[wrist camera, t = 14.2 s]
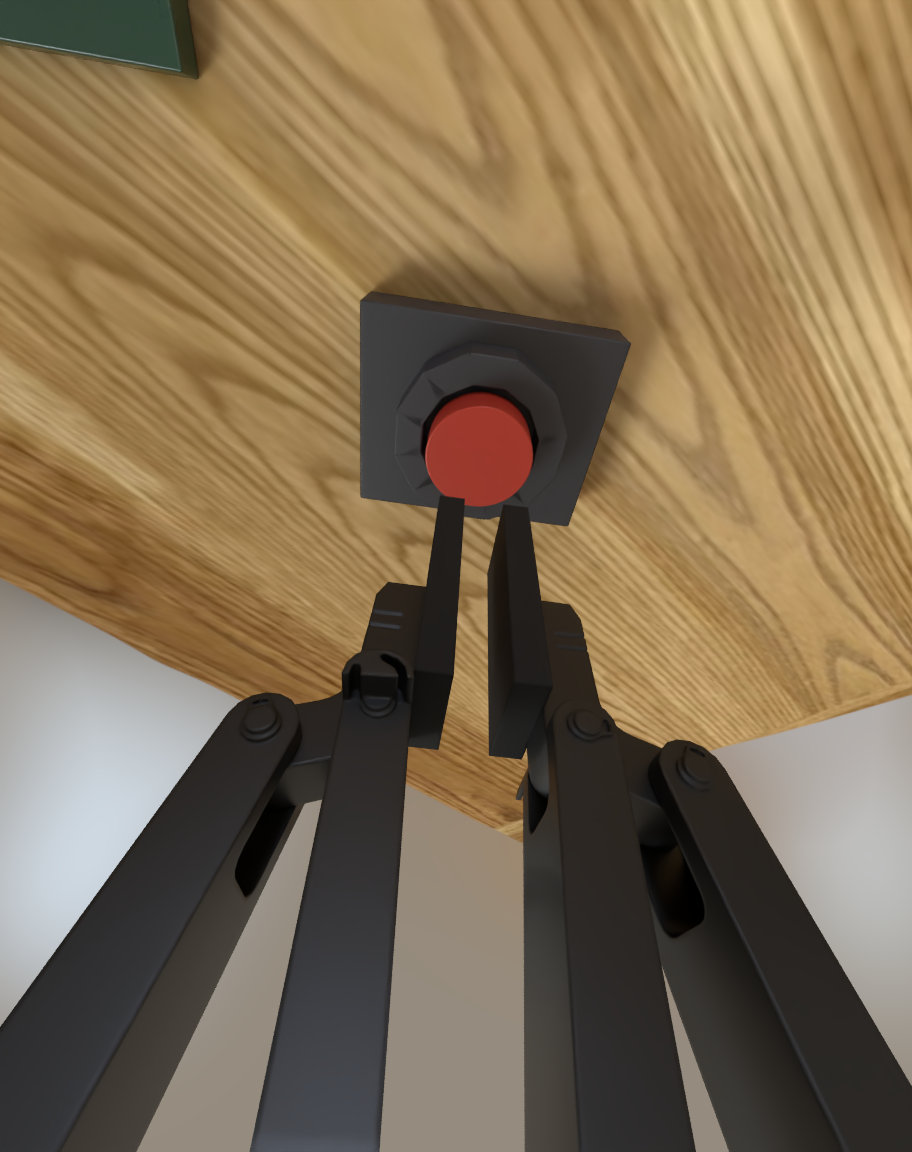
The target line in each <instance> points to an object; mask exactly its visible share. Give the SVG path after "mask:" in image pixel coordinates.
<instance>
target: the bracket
mask: <svg viewBox="0 0 912 1152" xmlns="http://www.w3.org/2000/svg"><path fill="white" fill-rule="evenodd" d="M0 44H1V45H7V46H12V47H18V48H24V49H29V50H35V51H40V52H46V53H52V54H57V55H63V56H68V57H74V58H80V59H85V60H91V61H96V62H102V63H108V64H113V65H119V66H124V67H130V68H136V69H141V70H147V71H152V72H158V73H164V74H169V75H175V76H180V77H186V78H192V79H198V71H197V64H196V58H195V51H194V45H193V38H192V32H191V25H190V19H189V13H188V6H187V0H0Z"/></svg>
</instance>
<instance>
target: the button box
mask: <svg viewBox="0 0 912 1152" xmlns="http://www.w3.org/2000/svg"><path fill="white" fill-rule="evenodd" d="M630 345H631V343H630V342H629V341H628V340H627V339H626V338H625V337H624V336H623V335H622V334H621V333H620V332H619V331H617V330H611V329H605V328H598V327H592V326H586V325H580V324H573V323H567V322H561V321H555V320H548V319H542V318H536V317H530V316H524V315H517V314H511V313H505V312H499V311H492V310H486V309H480V308H474V307H467V306H461V305H455V304H449V303H442V302H436V301H430V300H424V299H417V298H411V297H405V296H399V295H392V294H386V293H380V292H374V291H371V292H370V293H369V294H367V295H366V296H365V297H364V298H363V299H361V301H360V496H361V498H367V499H374V500H381V501H388V502H395V503H403V504H410V505H417V506H424V507H431V508H438V504H439V497H440V495H442V496H445V495H444V494H443V493H442V492H441V491H440V490H439V489H438V488H437V487H436V486H435V484H434V483H433V482H432V480H431V478H430V476H429V474H428V471H427V467H426V461H425V451H426V445H427V441H428V436H429V432H430V428H431V425H432V423H433V420H434V418H435V417H436V415H437V414H438V412H439V411H440V410H441V409H442V407H443V406H445V405H446V404H447V403H448V402H449V401H451V400H452V399H454V398H456V397H458V396H460V395H463V394H466V393H471V392H489V393H494V394H497V395H499V396H502V397H504V398H506V399H508V400H509V401H510V402H512V403H513V404H514V405H515V406H516V407H517V408H518V409H519V410H520V411H521V413H522V414H523V416H524V418H525V419H526V422H527V424H528V428H529V432H530V437H531V442H532V448H533V463H532V468H531V471H530V474H529V476H528V478H527V480H526V481H525V483H524V484H523V485H522V487H521V488H520V489H519V490H518V491H517V492H516V493H515V494H514V495H512V496H511V497H509V498H508V499H506V500H504V501H502V502H499V503H497V504H493V505H489V506H469V505H465V506H464V517H470V518H478V519H487V520H488V519H491V518H495V517H501V512H502V508H503V504H506V505H513V506H520V507H527V508H528V510H529V517H530V521H532V522H539V523H547V524H554V525H561V526H568V525H569V522H570V519H571V517H572V514H573V511H574V508H575V505H576V502H577V499H578V496H579V493H580V490H581V488H582V485H583V482H584V479H585V476H586V473H587V470H588V467H589V464H590V461H591V458H592V456H593V453H594V450H595V447H596V444H597V441H598V438H599V435H600V432H601V429H602V427H603V424H604V421H605V418H606V415H607V412H608V409H609V406H610V403H611V400H612V398H613V395H614V392H615V389H616V386H617V383H618V380H619V377H620V374H621V371H622V368H623V366H624V363H625V360H626V357H627V354H628V351H629V348H630Z"/></svg>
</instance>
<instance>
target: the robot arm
mask: <svg viewBox="0 0 912 1152" xmlns="http://www.w3.org/2000/svg"><path fill="white" fill-rule="evenodd" d="M464 506H465V499H463V498H456V497H449V496H442V495H440V497H439V504H438V511H437V517H436V524H435V531H434V538H433V544H432V551H431V558H430V564H429V571H428V578H427V585H426V587H423V586H415V585H408V584H400V583H392V582H388V583H387V584H386V585H385V586H384V587H383V588H382V589H381V590H380V591H379V592H378V593H377V594H376V598H375V602H374V605H373V609H372V613H371V617H370V620H369V625H368V628H367V631H366V635H365V639H364V642H363V646H362V650H361V652H360V653H357V654H356V655H354V656H353V657H352V658H351V659H350V660H349V661H348V662H347V663H346V665H345V667H344V669H343V671H342V691H341V692H339V693H338V694H336V695H334V696H332V697H330V698H326V699H323V700H319V701H313V702H307V703H301V704H296V705H295V704H294V703H293V701H292V700H291V699H289V698H287V697H285V696H283V695H281V694H276V693H262V694H257V695H252V696H250V697H248V698H246V699H244V700H243V701H241V702H239V703H238V704H237V705H236V706H235V707H234V708H233V709H232V710H231V711H230V712H228V714H227V715H226V716H225V718H224V719H223V721H222V722H221V723H220V725H219V726H218V727H217V729H216V730H215V732H214V733H213V734H212V736H211V737H210V738H209V740H208V741H207V743H206V744H205V745H204V747H203V748H202V750H201V751H200V752H199V754H198V755H197V756H196V758H195V759H194V761H193V762H192V763H191V765H190V766H189V767H188V769H187V770H186V772H185V773H184V774H183V776H182V777H181V779H180V780H179V781H178V783H177V784H176V785H175V787H174V788H173V789H172V791H171V792H170V794H169V795H168V796H167V798H166V799H165V801H164V802H163V803H162V805H161V806H160V807H159V809H158V810H157V811H156V813H155V814H154V816H153V817H152V818H151V820H150V821H149V823H148V824H147V825H146V827H145V828H144V829H143V831H142V833H141V834H140V835H139V836H138V838H137V839H136V840H135V842H134V844H133V845H132V846H131V847H130V849H129V850H128V852H127V853H126V854H125V856H124V857H123V858H122V860H121V861H120V863H119V864H118V865H117V867H116V868H115V869H114V871H113V872H112V874H111V875H110V876H109V878H108V879H107V881H106V882H105V883H104V885H103V886H102V887H101V889H100V890H99V892H98V893H97V894H96V896H95V897H94V898H93V900H92V901H91V903H90V904H89V905H88V907H87V908H86V910H85V911H84V912H83V914H82V915H81V916H80V918H79V919H78V921H77V922H76V923H75V925H74V926H73V927H72V929H71V930H70V932H69V933H68V934H67V936H66V937H65V938H64V940H63V941H62V943H61V944H60V945H59V947H58V948H57V949H56V951H55V952H54V954H53V955H52V956H51V958H50V959H49V960H48V962H47V963H46V965H45V966H44V967H43V969H42V970H41V972H40V973H39V975H38V976H37V977H36V978H35V980H34V981H33V983H32V984H31V985H30V987H29V988H28V989H27V991H26V992H25V994H24V995H23V996H22V998H21V999H20V1000H19V1002H18V1003H17V1005H16V1006H15V1007H14V1009H13V1010H12V1012H11V1013H10V1014H9V1016H8V1017H7V1019H6V1020H5V1021H4V1023H3V1024H2V1025H1V1027H0V1152H136V1151H137V1149H138V1147H139V1145H140V1143H141V1141H142V1139H143V1137H144V1135H145V1133H146V1131H147V1129H148V1127H149V1124H150V1122H151V1120H152V1118H153V1116H154V1114H155V1112H156V1110H157V1108H158V1106H159V1104H160V1102H161V1099H162V1098H163V1096H164V1093H165V1091H166V1089H167V1087H168V1085H169V1083H170V1081H171V1079H172V1077H173V1075H174V1073H175V1071H176V1069H177V1066H178V1064H179V1062H180V1060H181V1058H182V1056H183V1054H184V1052H185V1050H186V1048H187V1046H188V1044H189V1042H190V1040H191V1038H192V1035H193V1033H194V1031H195V1029H196V1027H197V1025H198V1023H199V1021H200V1019H201V1017H202V1015H203V1013H204V1011H205V1008H206V1007H207V1005H208V1002H209V1000H210V998H211V996H212V994H213V992H214V990H215V988H216V986H217V984H218V982H219V979H220V978H221V975H222V974H223V971H224V969H225V967H226V965H227V963H228V961H229V959H230V957H231V955H232V953H233V951H234V949H235V946H236V945H237V942H238V940H239V938H240V936H241V934H242V932H243V930H244V928H245V926H246V924H247V922H248V920H249V917H250V916H251V913H252V911H253V909H254V907H255V905H256V903H257V901H258V899H259V897H260V895H261V893H262V891H263V889H264V887H265V885H266V883H267V880H268V878H269V876H270V874H271V872H272V870H273V868H274V866H275V864H276V862H277V860H278V858H279V855H280V853H281V851H282V849H283V847H284V845H285V843H286V841H287V839H288V837H289V835H290V833H291V831H292V829H293V827H294V825H295V823H296V820H297V818H298V816H299V814H300V812H301V810H302V808H303V806H304V804H305V803H309V802H313V801H317V800H322V803H321V808H320V813H319V818H318V823H317V828H316V832H315V837H314V842H313V847H312V852H311V857H310V862H309V866H308V872H307V876H306V881H305V886H304V891H303V895H302V900H301V905H300V910H299V915H298V920H297V924H296V930H295V934H294V939H293V944H292V949H291V954H290V958H289V964H288V969H287V973H286V978H285V983H284V988H283V992H282V997H281V1002H280V1008H279V1012H278V1017H277V1022H276V1027H275V1031H274V1036H273V1042H272V1046H271V1051H270V1056H269V1061H268V1065H267V1070H266V1075H265V1080H264V1085H263V1090H262V1095H261V1099H260V1104H259V1109H258V1114H257V1119H256V1123H255V1129H254V1133H253V1138H252V1143H251V1148H250V1152H379V1149H380V1134H381V1121H382V1120H381V1119H382V1106H383V1093H384V1079H385V1077H384V1076H385V1065H386V1051H387V1037H388V1023H389V1008H390V995H391V981H392V966H393V953H394V952H393V951H394V938H395V925H396V911H397V897H398V882H399V867H400V855H401V841H402V825H403V813H404V812H403V811H404V799H405V785H406V771H407V757H408V746H409V747H417V748H426V749H435V750H438V749H439V744H440V739H441V734H442V729H443V724H444V720H445V715H446V710H447V705H448V700H449V695H450V690H451V685H452V680H453V675H454V661H455V646H456V630H457V615H458V599H459V584H460V568H461V553H462V537H463V522H464ZM487 575H488V700H489V756H496V757H505V758H514V759H522V757H523V755H524V753H525V751H526V748H527V756H528V769H527V771H526V773H525V775H524V777H523V780H522V782H521V784H520V786H519V788H518V791H517V796H516V800H521V798H522V796H523V847H524V848H523V850H524V851H523V852H524V853H523V854H524V855H523V856H524V857H523V858H524V1069H525V1070H524V1079H525V1080H524V1082H525V1084H524V1087H525V1152H696V1150H695V1144H694V1139H693V1133H692V1128H691V1122H690V1117H689V1112H688V1106H687V1101H686V1095H685V1091H684V1085H683V1080H682V1074H681V1068H680V1063H679V1057H678V1053H677V1047H676V1042H675V1036H674V1030H673V1025H672V1020H671V1015H670V1009H669V1003H668V998H667V992H666V987H665V981H664V976H663V971H662V967H663V970H664V973H665V976H666V978H667V981H668V984H669V987H670V989H671V992H672V995H673V998H674V1000H675V1003H676V1006H677V1009H678V1011H679V1014H680V1017H681V1020H682V1023H683V1025H684V1028H685V1031H686V1033H687V1036H688V1039H689V1041H690V1044H691V1047H692V1050H693V1053H694V1056H695V1058H696V1061H697V1064H698V1067H699V1070H700V1072H701V1075H702V1078H703V1081H704V1083H705V1086H706V1089H707V1092H708V1094H709V1097H710V1099H711V1103H712V1105H713V1108H714V1111H715V1114H716V1117H717V1119H718V1122H719V1125H720V1127H721V1130H722V1133H723V1136H724V1138H725V1141H726V1144H727V1147H728V1149H729V1152H912V1086H911V1084H910V1083H909V1081H908V1079H907V1078H906V1076H905V1074H904V1072H903V1071H902V1069H901V1067H900V1066H899V1064H898V1062H897V1060H896V1059H895V1057H894V1055H893V1054H892V1052H891V1050H890V1049H889V1047H888V1045H887V1044H886V1042H885V1040H884V1038H883V1037H882V1035H881V1033H880V1032H879V1030H878V1028H877V1026H876V1025H875V1023H874V1021H873V1020H872V1018H871V1016H870V1015H869V1013H868V1011H867V1010H866V1008H865V1006H864V1004H863V1003H862V1001H861V999H860V998H859V996H858V994H857V992H856V991H855V989H854V987H853V986H852V984H851V982H850V981H849V979H848V977H847V976H846V974H845V972H844V971H843V969H842V967H841V965H840V964H839V962H838V960H837V958H836V957H835V955H834V953H833V952H832V950H831V948H830V947H829V945H828V943H827V941H826V940H825V938H824V937H823V935H822V933H821V931H820V930H819V928H818V926H817V925H816V923H815V921H814V920H813V918H812V916H811V914H810V913H809V911H808V909H807V908H806V906H805V904H804V902H803V901H802V899H801V897H800V896H799V894H798V892H797V891H796V889H795V887H794V885H793V884H792V882H791V880H790V879H789V877H788V875H787V874H786V872H785V870H784V868H783V867H782V865H781V863H780V862H779V860H778V858H777V857H776V855H775V853H774V851H773V850H772V848H771V846H770V845H769V843H768V841H767V840H766V838H765V837H764V834H763V833H762V831H761V829H760V828H759V826H758V824H757V823H756V821H755V819H754V817H753V816H752V814H751V812H750V811H749V809H748V807H747V806H746V804H745V802H744V800H743V799H742V797H741V795H740V794H739V792H738V790H737V789H736V787H735V785H734V784H733V782H732V780H731V778H730V777H729V775H728V773H727V772H726V770H725V768H724V767H723V766H722V765H721V763H720V762H719V761H718V760H717V758H716V757H715V756H714V755H712V754H711V753H710V752H709V751H707V750H706V749H705V748H704V747H702V746H699V745H697V744H695V743H693V742H691V741H685V740H674V741H671V742H667V743H666V744H665V746H664V747H663V748H660V747H657V746H655V745H653V744H650V743H648V742H645V741H643V740H641V739H638V738H636V737H633V736H631V735H629V734H628V733H626V732H624V731H622V730H621V729H620V728H618V727H617V726H616V724H615V722H614V720H613V719H612V717H611V716H610V715H609V714H608V713H607V711H606V710H605V709H603V708H602V707H601V705H600V702H599V698H598V694H597V690H596V685H595V681H594V676H593V672H592V667H591V663H590V659H589V654H588V652H587V645H586V641H585V639H584V632H583V628H582V623H581V619H580V618H579V617H578V615H577V614H576V613H575V611H574V610H573V608H572V607H571V606H570V604H562V603H555V602H547V601H541V596H540V589H539V582H538V574H537V567H536V560H535V553H534V546H533V539H532V532H531V524H530V517H529V510H528V508H527V507H520V506H513V505H506V504H503V508H502V512H501V517H500V521H499V525H498V530H497V534H496V538H495V543H494V547H493V552H492V556H491V560H490V565H489V569H488V574H487ZM661 964H662V965H661Z"/></svg>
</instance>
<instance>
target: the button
mask: <svg viewBox="0 0 912 1152" xmlns="http://www.w3.org/2000/svg"><path fill="white" fill-rule="evenodd" d="M425 461H426V467H427V471H428V474H429V476H430V478H431V480H432V482H433V483H434V484H435V486H436V487H437V488H438V489H439V490H440V491H441V492H442V493H443V494H444V495H445V496H449V497H456V498H463V499H465V505H469V506H489V505H493V504H497V503H499V502H502V501H504V500H506V499H508V498H509V497H511V496H512V495H514V494H515V493H516V492H517V491H518V490H519V489H520V488H521V487H522V485H523V484H524V483H525V481H526V480H527V478H528V476H529V474H530V471H531V468H532V463H533V448H532V442H531V437H530V432H529V428H528V424H527V422H526V419H525V418H524V416H523V414H522V413H521V411H520V410H519V409H518V408H517V407H516V406H515V405H514V404H513V403H512V402H510V401H509V400H508V399H506V398H504V397H502V396H499V395H497V394H494V393H489V392H471V393H466V394H463V395H460V396H458V397H456V398H454V399H452V400H451V401H449V402H448V403H447V404H446V405H445V406H443V407H442V409H441V410H440V411H439V412H438V414H437V415H436V417H435V418H434V420H433V423H432V425H431V428H430V432H429V436H428V441H427V445H426V451H425Z"/></svg>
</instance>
